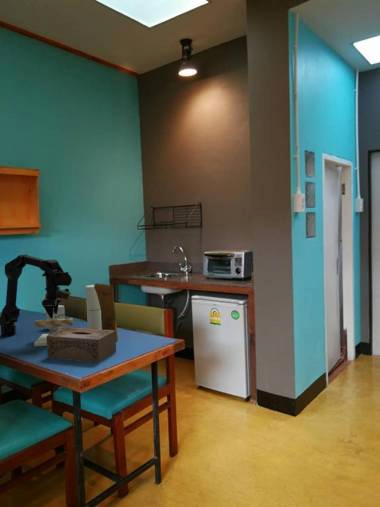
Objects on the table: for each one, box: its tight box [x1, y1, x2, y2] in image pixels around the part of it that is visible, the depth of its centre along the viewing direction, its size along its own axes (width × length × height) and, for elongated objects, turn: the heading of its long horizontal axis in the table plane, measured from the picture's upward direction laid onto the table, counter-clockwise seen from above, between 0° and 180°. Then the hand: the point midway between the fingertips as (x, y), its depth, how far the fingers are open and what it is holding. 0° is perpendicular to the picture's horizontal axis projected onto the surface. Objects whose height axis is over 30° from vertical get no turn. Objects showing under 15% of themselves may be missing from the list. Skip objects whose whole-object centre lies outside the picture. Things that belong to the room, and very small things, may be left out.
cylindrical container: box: [85, 284, 102, 330], centre depth 213 cm, size 7×7×25 cm
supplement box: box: [45, 304, 66, 330], centre depth 224 cm, size 7×7×13 cm
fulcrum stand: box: [33, 326, 62, 347], centre depth 200 cm, size 16×16×8 cm
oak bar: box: [34, 317, 74, 328], centre depth 200 cm, size 18×3×3 cm, turn 96°
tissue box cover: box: [46, 326, 117, 363], centre depth 177 cm, size 26×14×10 cm, turn 72°
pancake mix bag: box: [93, 282, 119, 342], centre depth 200 cm, size 7×19×28 cm, turn 33°
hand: (53, 316), depth 199 cm, fingers open, 9 cm apart
